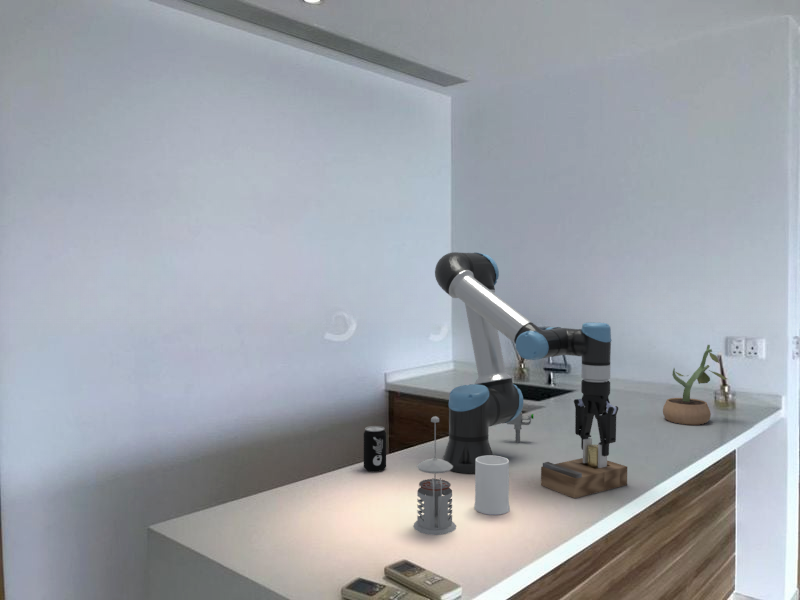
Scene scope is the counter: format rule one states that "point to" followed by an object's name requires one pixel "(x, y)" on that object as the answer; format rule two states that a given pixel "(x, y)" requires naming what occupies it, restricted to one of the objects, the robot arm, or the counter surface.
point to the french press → (434, 498)
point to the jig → (582, 477)
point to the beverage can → (374, 448)
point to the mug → (492, 485)
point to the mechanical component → (518, 422)
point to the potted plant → (685, 407)
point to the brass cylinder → (593, 456)
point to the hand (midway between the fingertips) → (594, 464)
